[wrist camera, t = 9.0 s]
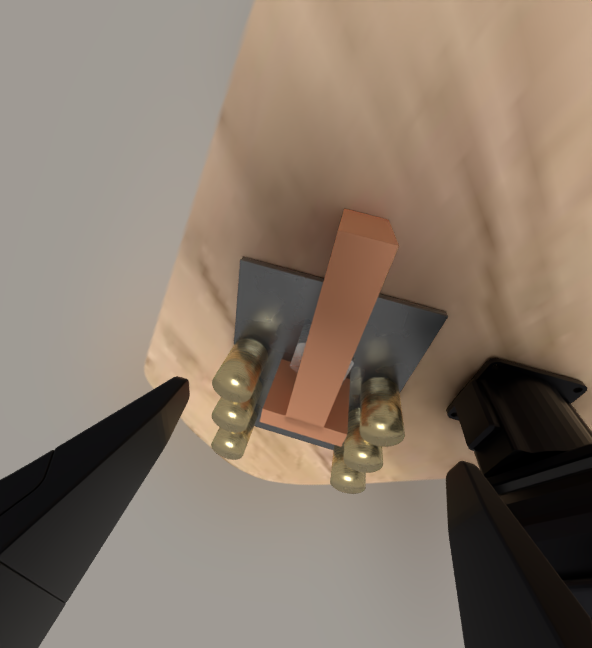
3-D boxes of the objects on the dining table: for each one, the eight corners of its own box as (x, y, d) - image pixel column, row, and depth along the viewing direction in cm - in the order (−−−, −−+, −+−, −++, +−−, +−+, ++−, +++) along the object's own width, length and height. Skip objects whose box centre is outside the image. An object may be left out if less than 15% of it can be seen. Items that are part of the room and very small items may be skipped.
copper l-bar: (416, 226, 16) (437, 256, 11) (345, 390, 23) (341, 446, 19) (317, 201, 16) (301, 220, 12) (278, 371, 24) (259, 421, 19)
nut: (361, 331, 20) (361, 351, 18) (338, 373, 22) (336, 395, 21) (308, 312, 20) (302, 330, 18) (292, 357, 23) (285, 377, 21)
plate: (446, 311, 18) (466, 357, 15) (358, 452, 29) (357, 499, 25) (243, 256, 19) (213, 286, 15) (230, 413, 30) (211, 453, 26)
